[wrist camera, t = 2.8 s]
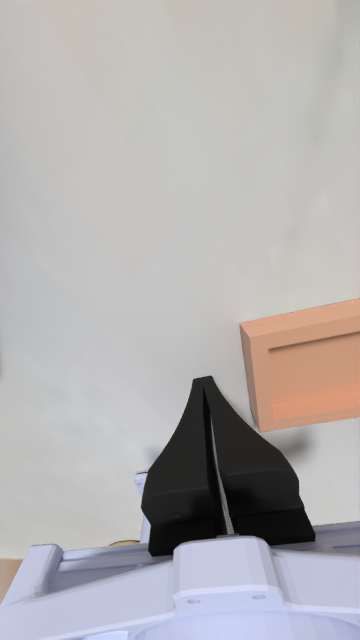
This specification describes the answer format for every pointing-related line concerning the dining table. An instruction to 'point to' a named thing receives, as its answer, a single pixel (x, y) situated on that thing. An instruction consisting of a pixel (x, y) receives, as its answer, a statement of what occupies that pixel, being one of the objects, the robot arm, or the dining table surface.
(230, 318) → the dining table surface
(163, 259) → the dining table surface
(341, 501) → the dining table surface
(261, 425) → the shallow pink tray
